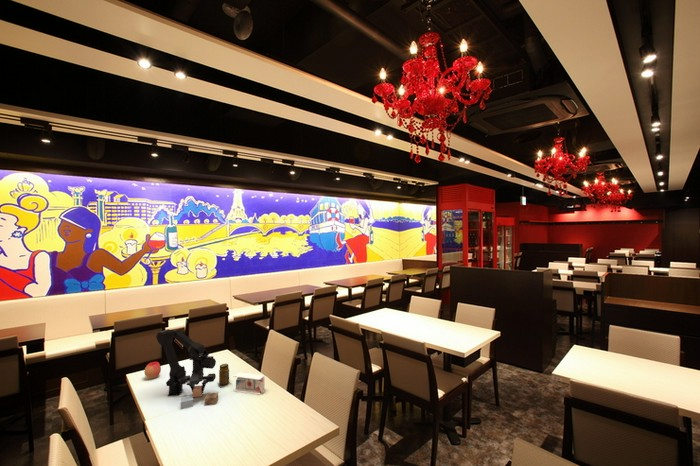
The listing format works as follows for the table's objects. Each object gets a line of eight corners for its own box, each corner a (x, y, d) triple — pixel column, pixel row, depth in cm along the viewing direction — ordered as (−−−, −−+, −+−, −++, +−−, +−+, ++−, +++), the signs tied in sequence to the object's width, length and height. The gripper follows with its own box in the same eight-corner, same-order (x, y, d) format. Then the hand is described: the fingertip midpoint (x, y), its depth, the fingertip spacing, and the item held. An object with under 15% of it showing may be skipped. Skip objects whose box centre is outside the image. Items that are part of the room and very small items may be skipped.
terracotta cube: (193, 397, 184) (193, 389, 184) (195, 393, 188) (195, 385, 188) (201, 396, 184) (201, 388, 185) (203, 392, 189) (203, 385, 189)
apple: (145, 376, 214) (145, 361, 214) (161, 373, 218) (161, 359, 218) (143, 382, 205) (143, 367, 206) (160, 379, 209) (159, 364, 210)
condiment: (228, 380, 207) (227, 362, 207) (232, 384, 200) (232, 366, 200) (216, 383, 202) (216, 365, 202) (220, 388, 196) (220, 369, 196)
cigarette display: (233, 391, 192) (232, 376, 192) (238, 387, 197) (238, 372, 197) (261, 395, 186) (261, 379, 186) (266, 390, 192) (266, 375, 192)
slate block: (180, 409, 172) (180, 402, 172) (181, 404, 177) (180, 397, 177) (192, 406, 175) (192, 399, 175) (192, 401, 180) (192, 395, 180)
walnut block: (204, 405, 175) (204, 398, 176) (207, 400, 181) (207, 393, 181) (216, 404, 177) (215, 397, 177) (218, 399, 183) (218, 392, 183)
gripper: (176, 374, 177) (176, 401, 177) (210, 371, 180) (210, 398, 180) (183, 366, 188) (183, 391, 188) (215, 363, 191) (216, 389, 191)
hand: (198, 393), depth 186 cm, fingers closed on terracotta cube, 4 cm apart
